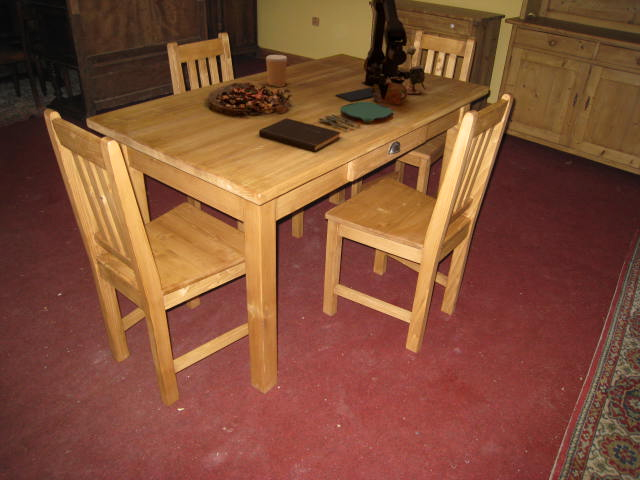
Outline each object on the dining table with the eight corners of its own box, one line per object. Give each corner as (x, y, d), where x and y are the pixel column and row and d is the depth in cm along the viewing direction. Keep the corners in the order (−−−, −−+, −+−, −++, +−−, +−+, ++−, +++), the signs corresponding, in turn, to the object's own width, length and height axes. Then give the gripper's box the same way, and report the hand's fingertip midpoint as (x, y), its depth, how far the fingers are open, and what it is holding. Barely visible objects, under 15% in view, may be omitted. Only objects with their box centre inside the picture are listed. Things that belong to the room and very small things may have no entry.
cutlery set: (402, 116, 200) (403, 111, 199) (349, 133, 182) (349, 127, 181) (364, 104, 212) (365, 98, 211) (311, 119, 194) (311, 113, 193)
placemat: (369, 88, 232) (369, 87, 231) (385, 94, 225) (385, 93, 225) (335, 95, 221) (335, 94, 220) (351, 101, 214) (351, 100, 214)
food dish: (308, 108, 208) (309, 89, 204) (245, 128, 188) (244, 107, 183) (251, 86, 227) (251, 68, 223) (188, 102, 207) (187, 83, 202)
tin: (370, 100, 217) (372, 80, 212) (372, 98, 219) (374, 78, 215) (404, 106, 211) (407, 85, 207) (406, 104, 214) (409, 84, 209)
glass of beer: (291, 84, 234) (291, 56, 227) (279, 88, 227) (278, 60, 221) (274, 80, 238) (274, 53, 231) (262, 84, 231) (261, 57, 225)
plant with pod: (418, 97, 223) (425, 49, 213) (396, 91, 229) (401, 44, 218) (427, 93, 229) (434, 46, 218) (405, 88, 234) (411, 42, 224)
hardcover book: (286, 124, 188) (286, 118, 187) (340, 138, 178) (340, 132, 177) (258, 136, 177) (258, 130, 176) (314, 152, 167) (314, 145, 165)
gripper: (393, 52, 216) (389, 89, 224) (361, 57, 206) (358, 96, 214) (413, 57, 209) (408, 96, 217) (381, 63, 199) (377, 103, 207)
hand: (387, 97), depth 214 cm, fingers open, 5 cm apart
